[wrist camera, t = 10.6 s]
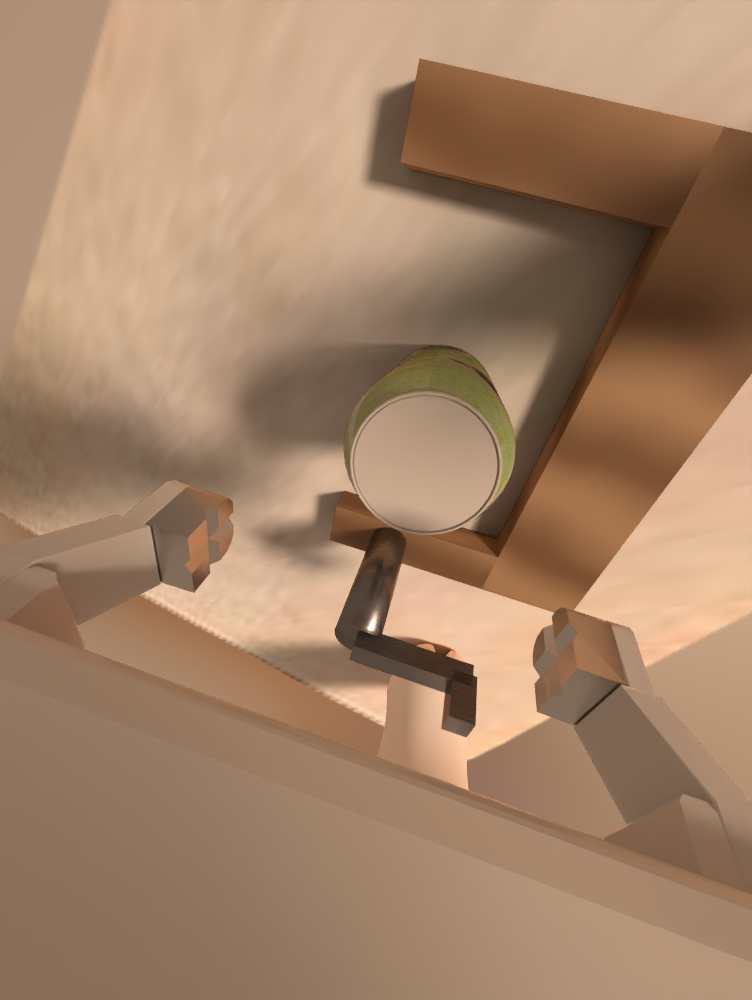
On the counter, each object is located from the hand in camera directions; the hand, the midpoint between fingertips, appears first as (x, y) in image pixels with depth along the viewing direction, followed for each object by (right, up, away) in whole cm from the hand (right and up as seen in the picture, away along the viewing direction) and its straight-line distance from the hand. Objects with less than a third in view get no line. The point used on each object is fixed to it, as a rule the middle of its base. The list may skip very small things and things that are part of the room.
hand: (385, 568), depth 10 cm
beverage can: (+4, +8, +13) cm, 16 cm away
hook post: (+3, -1, +19) cm, 19 cm away
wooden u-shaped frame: (+8, +7, +13) cm, 17 cm away
